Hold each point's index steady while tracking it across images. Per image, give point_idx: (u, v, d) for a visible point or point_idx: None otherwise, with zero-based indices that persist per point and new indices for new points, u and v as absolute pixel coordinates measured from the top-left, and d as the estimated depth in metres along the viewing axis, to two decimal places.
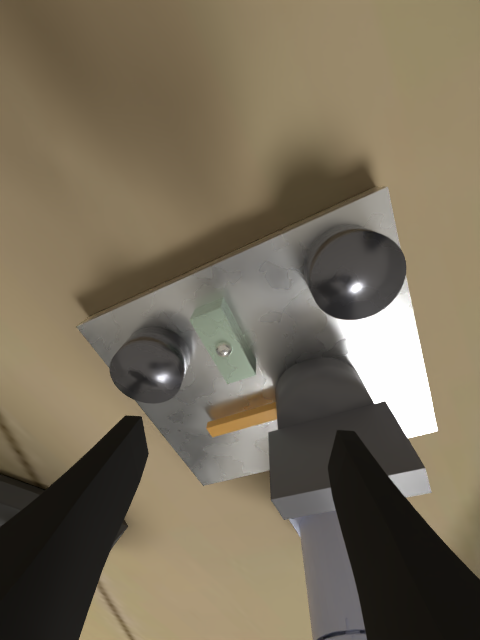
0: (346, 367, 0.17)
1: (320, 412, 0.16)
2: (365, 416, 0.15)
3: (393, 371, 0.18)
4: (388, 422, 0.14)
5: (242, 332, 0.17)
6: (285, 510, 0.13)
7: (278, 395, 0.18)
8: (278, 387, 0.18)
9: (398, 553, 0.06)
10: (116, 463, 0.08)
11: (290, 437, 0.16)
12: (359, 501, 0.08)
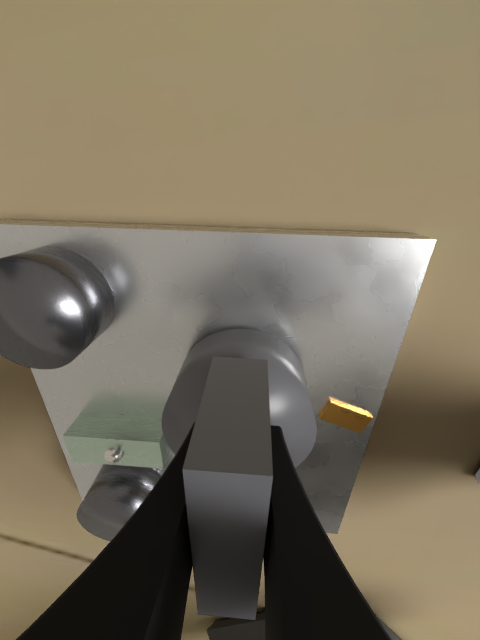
0: (198, 347, 0.12)
1: None
2: None
3: (253, 280, 0.11)
4: None
5: (127, 415, 0.15)
6: (231, 613, 0.08)
7: None
8: None
9: None
10: None
11: None
12: None
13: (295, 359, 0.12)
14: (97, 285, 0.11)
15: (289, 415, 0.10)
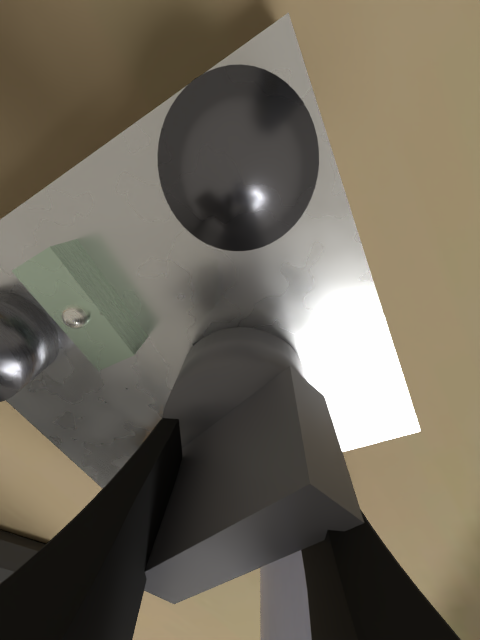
0: (246, 334, 0.11)
1: (211, 412, 0.10)
2: (261, 401, 0.09)
3: (345, 345, 0.12)
4: (284, 402, 0.08)
5: (118, 294, 0.12)
6: (161, 592, 0.08)
7: None
8: None
9: (331, 547, 0.06)
10: (160, 466, 0.08)
11: (181, 462, 0.10)
12: None
13: None
14: None
15: None
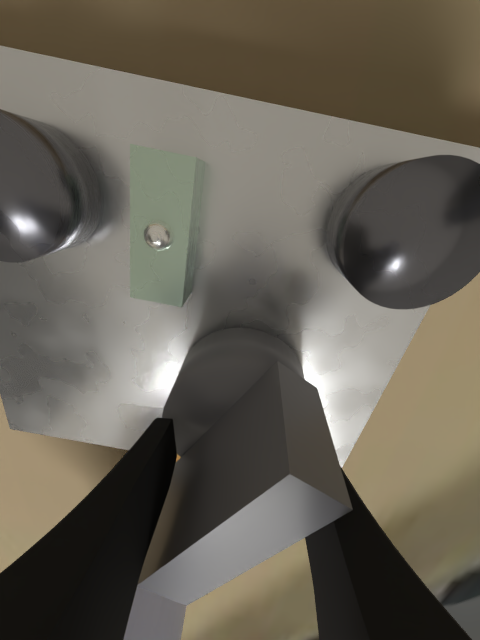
0: (236, 334, 0.11)
1: (208, 414, 0.10)
2: (252, 398, 0.09)
3: (338, 400, 0.14)
4: (271, 397, 0.08)
5: (198, 238, 0.11)
6: (171, 594, 0.08)
7: None
8: None
9: (340, 548, 0.06)
10: (153, 466, 0.08)
11: (185, 465, 0.11)
12: None
13: None
14: None
15: None
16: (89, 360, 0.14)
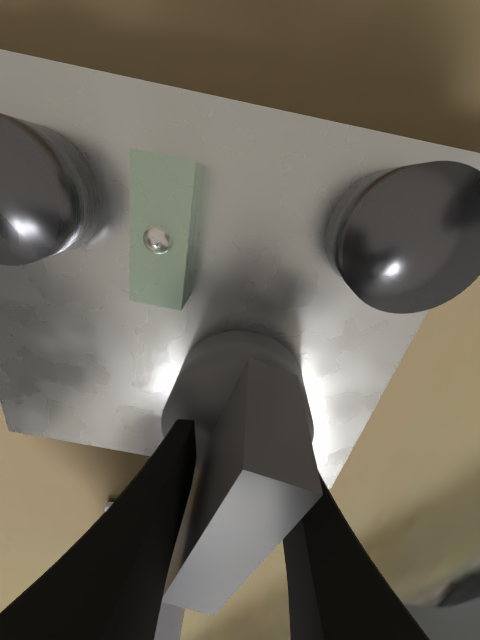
0: (217, 339, 0.12)
1: (203, 423, 0.10)
2: (233, 400, 0.09)
3: (337, 403, 0.14)
4: (242, 395, 0.08)
5: (197, 242, 0.11)
6: (195, 605, 0.08)
7: None
8: None
9: (306, 545, 0.06)
10: (178, 467, 0.08)
11: (194, 477, 0.11)
12: None
13: (302, 378, 0.12)
14: None
15: None
16: (88, 362, 0.14)
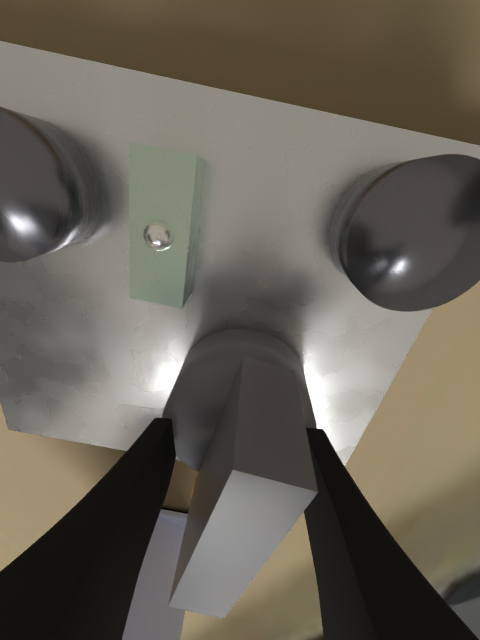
0: (214, 339, 0.11)
1: (204, 425, 0.10)
2: (229, 399, 0.09)
3: (340, 402, 0.14)
4: (236, 394, 0.08)
5: (198, 238, 0.11)
6: (203, 609, 0.08)
7: None
8: None
9: (346, 548, 0.06)
10: (151, 466, 0.08)
11: (198, 479, 0.11)
12: (319, 498, 0.08)
13: (303, 373, 0.12)
14: None
15: None
16: (88, 361, 0.14)
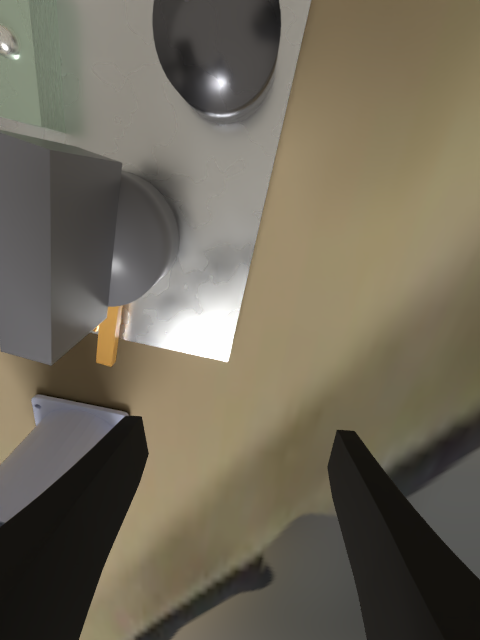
0: None
1: None
2: None
3: (216, 258, 0.15)
4: None
5: (61, 70, 0.12)
6: (29, 351, 0.10)
7: None
8: None
9: (398, 553, 0.06)
10: (116, 463, 0.08)
11: None
12: (359, 501, 0.08)
13: (168, 211, 0.13)
14: (233, 119, 0.12)
15: (138, 232, 0.11)
16: None
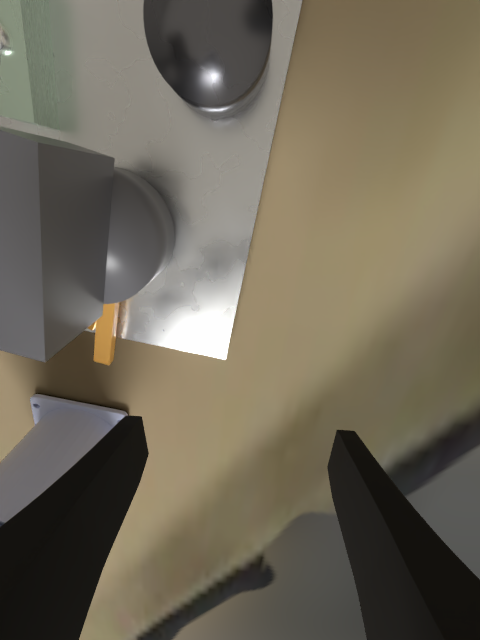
0: None
1: None
2: None
3: (212, 255, 0.15)
4: None
5: (54, 67, 0.12)
6: (23, 348, 0.10)
7: None
8: None
9: (398, 553, 0.06)
10: (116, 462, 0.08)
11: None
12: (359, 501, 0.08)
13: (163, 207, 0.13)
14: (227, 114, 0.12)
15: (132, 228, 0.11)
16: None
